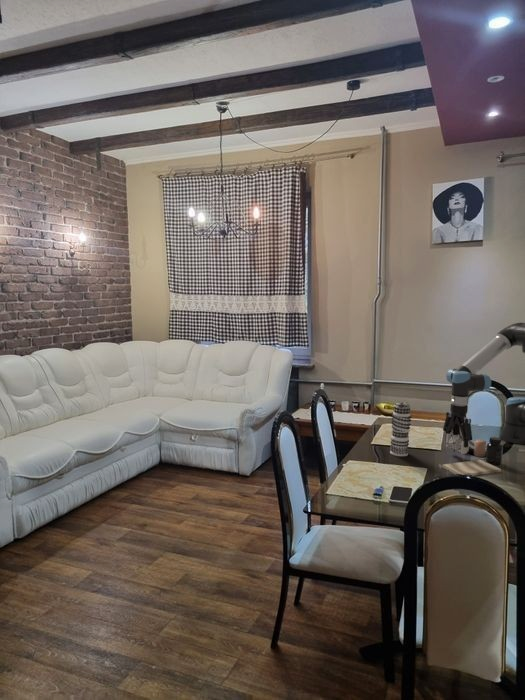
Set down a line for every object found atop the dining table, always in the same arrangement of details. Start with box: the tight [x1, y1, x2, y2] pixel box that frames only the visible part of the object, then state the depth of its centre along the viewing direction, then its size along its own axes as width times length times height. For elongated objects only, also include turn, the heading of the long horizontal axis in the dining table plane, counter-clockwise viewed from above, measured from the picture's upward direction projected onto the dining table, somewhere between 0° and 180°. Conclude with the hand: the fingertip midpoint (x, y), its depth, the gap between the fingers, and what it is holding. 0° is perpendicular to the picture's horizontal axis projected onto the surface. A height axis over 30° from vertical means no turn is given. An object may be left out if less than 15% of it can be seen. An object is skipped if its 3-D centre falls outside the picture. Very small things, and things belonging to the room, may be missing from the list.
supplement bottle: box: [485, 436, 504, 467], centre depth 227 cm, size 7×7×12 cm
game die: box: [445, 432, 463, 453], centre depth 234 cm, size 9×8×10 cm
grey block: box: [456, 441, 470, 453], centre depth 245 cm, size 5×5×5 cm
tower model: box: [389, 401, 412, 457], centre depth 236 cm, size 9×9×25 cm
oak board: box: [441, 459, 502, 477], centre depth 220 cm, size 22×12×1 cm, turn 110°
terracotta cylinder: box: [473, 439, 487, 458], centre depth 238 cm, size 5×5×7 cm
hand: (456, 449), depth 235 cm, fingers closed on game die, 9 cm apart
